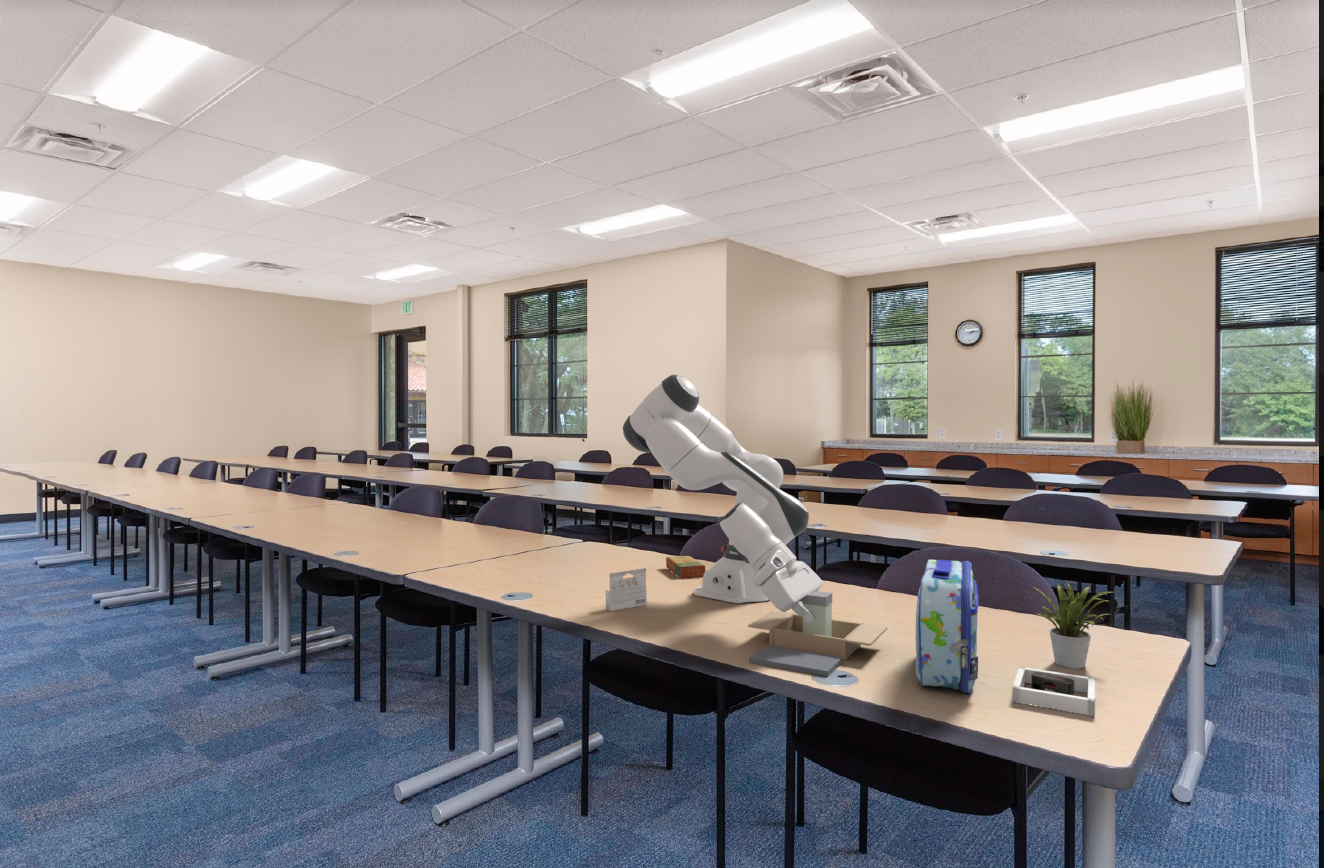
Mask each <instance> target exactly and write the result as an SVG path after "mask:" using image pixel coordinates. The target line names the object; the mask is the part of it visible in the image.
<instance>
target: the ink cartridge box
mask: <svg viewBox="0 0 1324 868" xmlns="http://www.w3.org/2000/svg"><path fill="white" fill-rule="evenodd" d="M628 574H630V575H632V576H633V577H626V578H624V577H625V576H626V575H628ZM604 591H605V610H606V611H609V612H615V611H618V610H619V611H620V609H621V610H626V609H631V608H637V607H642V606H647V604H648V603H647V602H648V601H647V568H645V567H644V568H638V569H632V570H624V571H617V572H611V573H609V589H606V590H604ZM625 608H626V609H625Z"/></svg>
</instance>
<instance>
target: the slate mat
mask: <svg viewBox="0 0 1324 868" xmlns="http://www.w3.org/2000/svg"><path fill="white" fill-rule="evenodd" d="M748 661H749V664H755V665H762V666H768V667H771V668H772V667H773V668H778V669H785V670H788V671H789V670H790V671H793V672H794V671H795V672H801V673H806V674H811V675H817V676H824V677H829V676H830V675H831V674H832V673H833V672H834V671H835V670H836V669H837V668H838V667H840V666H841V665H842V664H843V660H842V657H836V656H830V655H824V654H818V653H812V652H806V651H799V650H793V649H787V648H781V647H775V646H769V644H768V645H767V644H766V645H765V646H764V647H762V648H761V649H759V650H758V651H756V652H755V653H754V654H752V655H751V656H749V657H748Z"/></svg>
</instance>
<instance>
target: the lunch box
mask: <svg viewBox="0 0 1324 868" xmlns="http://www.w3.org/2000/svg"><path fill="white" fill-rule="evenodd" d="M924 569H925V570H924V573H923V575H922V577H921V579H920V582H919V583H920V586H919V589H918V593H917V600H916V601H917V602H916V609H915V610H916V612H915V656H916V658H915V676H916V678H917V679H918V683H919V684H920V685H921V686H924V687H925V686H926V687H927V686H931V687H936V688H937V687H941V688H949V689H952V690H957V691H960V692H963V693H965V694H972V691H973V688H974V686H975V684H976V680H977V679H978V678H979V677H978V676H979V674H978V673H979V672H978V671H979V656H977V651H978V650H977V649H978V647H977V646H978V609H979V606H980V605H979V604H980V603H979V593H978V584H977V581H976V580H975V579H974V573H973V570H972V562H970V561H968V560H963V561H960V560H951V559H949V560H945V559H928V560H927V562H926V565H925V568H924Z"/></svg>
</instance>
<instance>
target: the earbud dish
mask: <svg viewBox="0 0 1324 868" xmlns="http://www.w3.org/2000/svg"><path fill="white" fill-rule="evenodd" d="M1034 672H1042V673H1046V674H1051V675H1055V676H1060V677H1064V678H1068V679H1072V680H1074V692H1079V693H1086V694H1087V697H1086V696H1085V697H1084V696H1080V695H1074V696H1073V695H1067V694H1061V693H1055V692H1049V691H1043V690H1036V689H1030V688H1025V684H1031V675H1032V674H1033V673H1034ZM1011 692H1012V696H1011V697H1012V703H1014V702H1016V703H1015V704H1020V703H1021V705H1026V704H1032V705H1037V706H1042V707H1041V708H1043V707H1046V708H1045V709H1049V708H1054V709H1058V710H1057V711H1060V710H1062V711H1061V712H1066V711H1067V713H1072V712H1075V713H1074V714H1077V713H1079V714H1078V715H1083V714H1085V715H1084V716H1090V717H1094V716H1096V715H1095V714H1096V677H1090V676H1084V675H1078V674H1070V673H1065V672H1057V671H1052V670H1051V671H1050V670H1046V669H1037V668H1032V667H1025V666H1018V670H1017V672H1016V676H1015V678H1014V681H1013V683H1012V691H1011ZM1037 706H1036V707H1037ZM1054 709H1053V710H1054Z"/></svg>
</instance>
